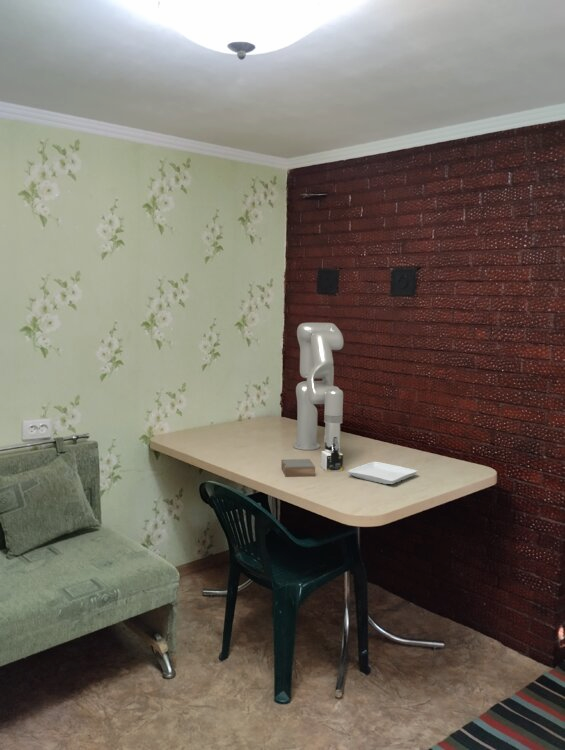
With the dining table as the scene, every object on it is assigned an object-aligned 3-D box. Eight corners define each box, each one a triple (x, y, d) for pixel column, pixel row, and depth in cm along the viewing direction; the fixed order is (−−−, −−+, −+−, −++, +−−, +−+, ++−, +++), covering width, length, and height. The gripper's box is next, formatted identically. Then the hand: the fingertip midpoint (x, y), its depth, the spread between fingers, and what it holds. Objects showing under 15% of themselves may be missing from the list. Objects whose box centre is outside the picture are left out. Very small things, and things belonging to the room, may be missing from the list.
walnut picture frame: (281, 468, 266) (281, 459, 266) (309, 468, 268) (309, 458, 268) (285, 476, 255) (285, 467, 254) (315, 476, 256) (315, 466, 256)
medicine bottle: (326, 471, 263) (327, 443, 261) (320, 467, 270) (321, 439, 268) (342, 470, 265) (343, 442, 263) (336, 466, 272) (337, 438, 270)
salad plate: (373, 467, 272) (373, 460, 271) (418, 477, 259) (419, 469, 258) (345, 478, 256) (345, 470, 255) (392, 489, 242) (392, 480, 242)
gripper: (320, 415, 272) (319, 454, 275) (328, 423, 255) (327, 464, 258) (337, 415, 274) (336, 454, 276) (347, 422, 257) (345, 464, 259)
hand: (332, 459), depth 267 cm, fingers open, 9 cm apart
